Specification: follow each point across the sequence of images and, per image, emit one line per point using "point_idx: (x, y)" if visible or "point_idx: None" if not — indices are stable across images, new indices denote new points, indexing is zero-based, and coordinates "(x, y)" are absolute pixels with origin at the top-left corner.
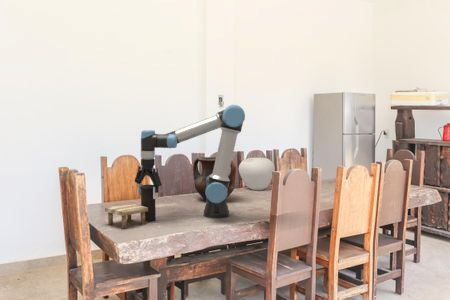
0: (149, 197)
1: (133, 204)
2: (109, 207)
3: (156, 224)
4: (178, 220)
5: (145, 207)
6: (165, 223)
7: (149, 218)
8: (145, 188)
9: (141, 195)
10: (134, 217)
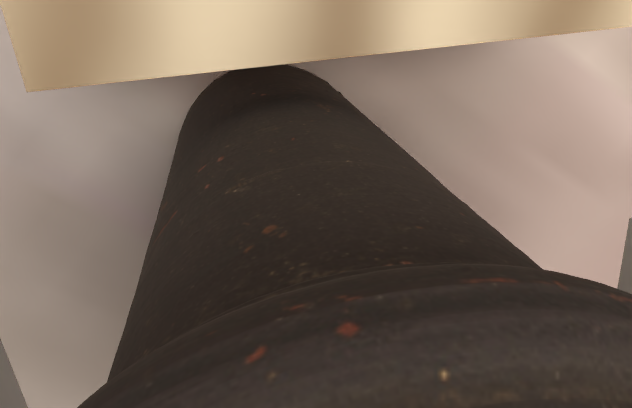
0: (138, 287)
1: (502, 18)
2: None
3: (21, 126)
4: (63, 401)
5: (49, 39)
6: (9, 236)
7: (180, 131)
8: (117, 393)
9: (397, 175)
10: (516, 114)
